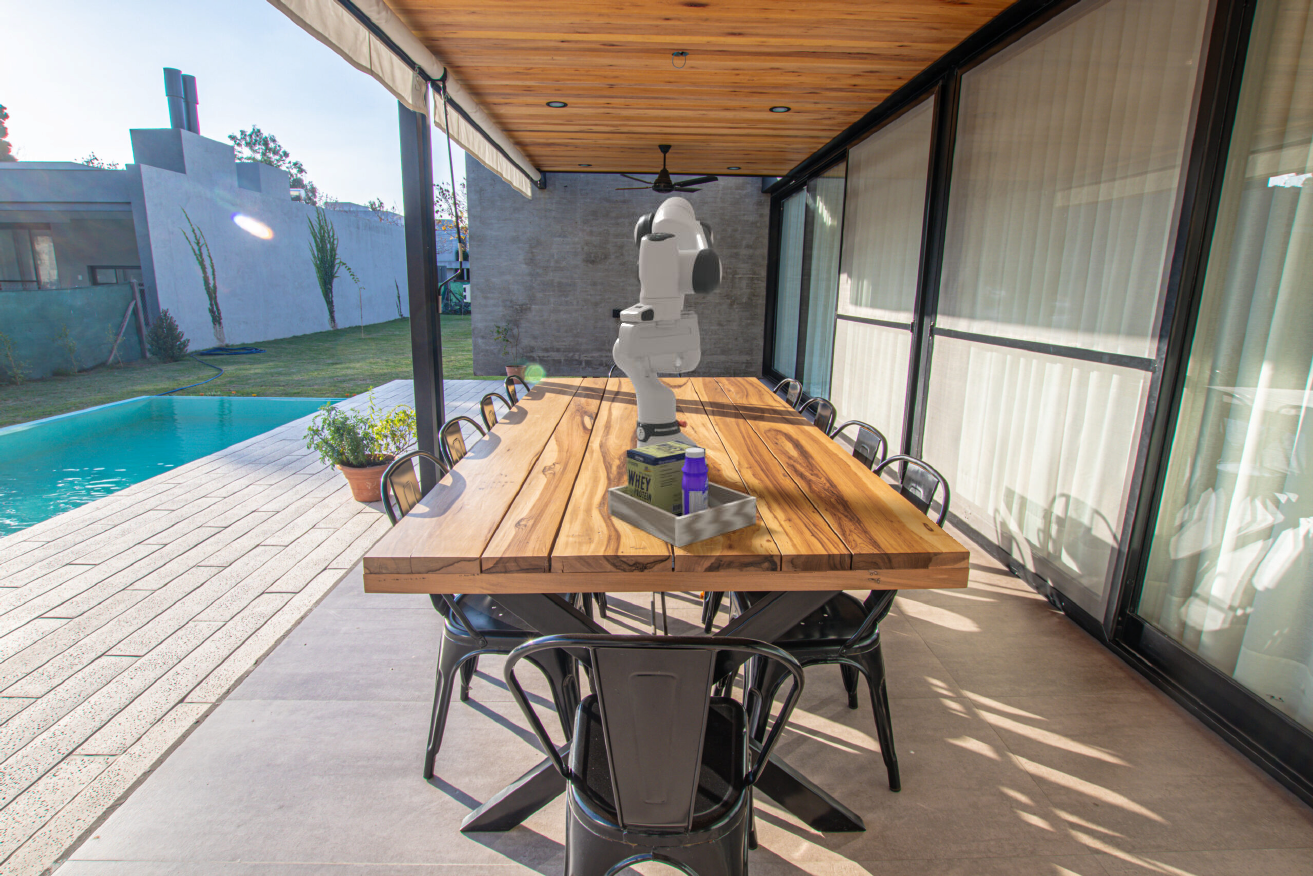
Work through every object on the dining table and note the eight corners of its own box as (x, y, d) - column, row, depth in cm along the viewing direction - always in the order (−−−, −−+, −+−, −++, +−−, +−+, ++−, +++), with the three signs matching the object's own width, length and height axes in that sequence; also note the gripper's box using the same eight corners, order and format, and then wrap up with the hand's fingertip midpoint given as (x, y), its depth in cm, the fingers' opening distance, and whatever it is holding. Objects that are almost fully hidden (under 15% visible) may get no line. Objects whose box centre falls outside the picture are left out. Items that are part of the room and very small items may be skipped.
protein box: (626, 514, 149) (625, 449, 145) (678, 500, 158) (678, 439, 155) (653, 526, 141) (653, 458, 137) (706, 511, 150) (707, 447, 146)
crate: (681, 495, 162) (681, 472, 161) (755, 523, 142) (756, 497, 140) (608, 513, 149) (607, 489, 148) (678, 547, 129) (678, 519, 128)
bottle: (705, 533, 136) (706, 454, 132) (679, 531, 137) (679, 453, 134) (710, 521, 143) (710, 446, 139) (685, 520, 144) (684, 445, 141)
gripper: (687, 308, 146) (688, 368, 150) (613, 313, 134) (615, 378, 138) (706, 309, 142) (706, 371, 145) (630, 314, 130) (632, 381, 133)
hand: (661, 374), depth 141 cm, fingers open, 8 cm apart
